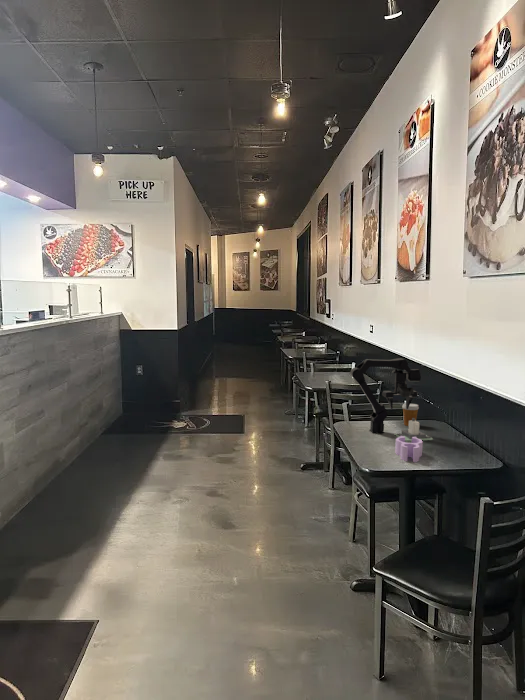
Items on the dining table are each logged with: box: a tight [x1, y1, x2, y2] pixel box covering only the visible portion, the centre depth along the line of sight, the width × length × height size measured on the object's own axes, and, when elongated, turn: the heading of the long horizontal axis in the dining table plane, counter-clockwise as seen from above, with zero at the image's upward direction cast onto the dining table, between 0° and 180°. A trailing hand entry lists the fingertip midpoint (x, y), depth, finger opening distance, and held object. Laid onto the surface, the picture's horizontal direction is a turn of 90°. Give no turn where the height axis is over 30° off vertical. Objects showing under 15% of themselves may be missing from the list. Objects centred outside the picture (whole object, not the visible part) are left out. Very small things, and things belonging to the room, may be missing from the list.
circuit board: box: [394, 432, 434, 442], centre depth 289 cm, size 16×12×1 cm
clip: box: [394, 436, 424, 463], centre depth 257 cm, size 20×12×7 cm, turn 168°
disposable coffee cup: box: [401, 403, 420, 427], centre depth 316 cm, size 10×10×12 cm
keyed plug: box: [407, 418, 420, 435], centre depth 288 cm, size 4×6×10 cm, turn 12°
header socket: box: [401, 429, 427, 439], centre depth 289 cm, size 9×10×2 cm
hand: (399, 409), depth 299 cm, fingers open, 9 cm apart
